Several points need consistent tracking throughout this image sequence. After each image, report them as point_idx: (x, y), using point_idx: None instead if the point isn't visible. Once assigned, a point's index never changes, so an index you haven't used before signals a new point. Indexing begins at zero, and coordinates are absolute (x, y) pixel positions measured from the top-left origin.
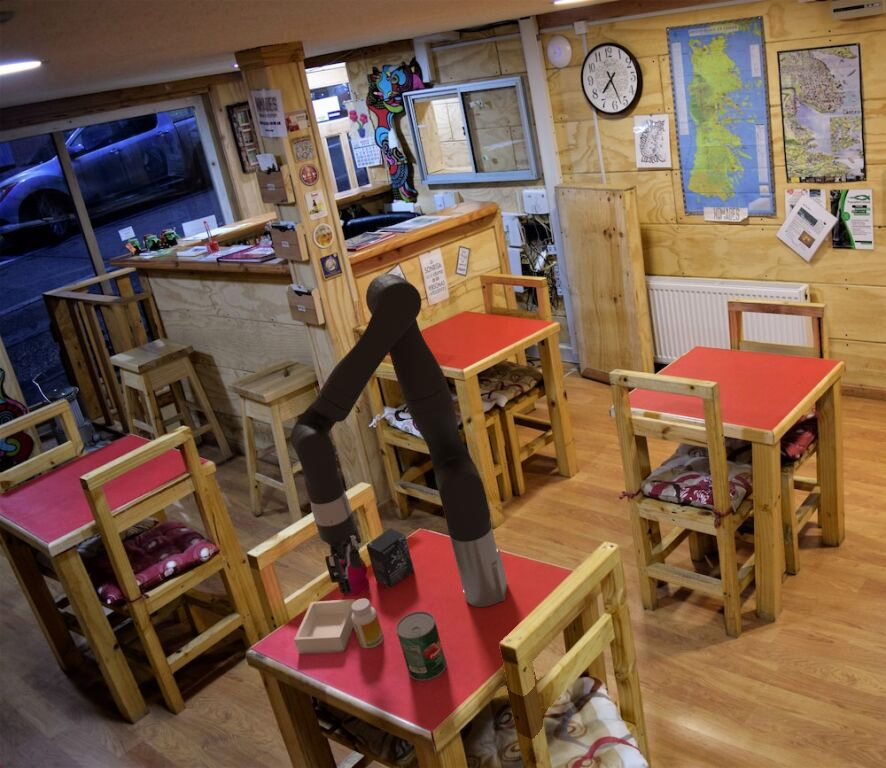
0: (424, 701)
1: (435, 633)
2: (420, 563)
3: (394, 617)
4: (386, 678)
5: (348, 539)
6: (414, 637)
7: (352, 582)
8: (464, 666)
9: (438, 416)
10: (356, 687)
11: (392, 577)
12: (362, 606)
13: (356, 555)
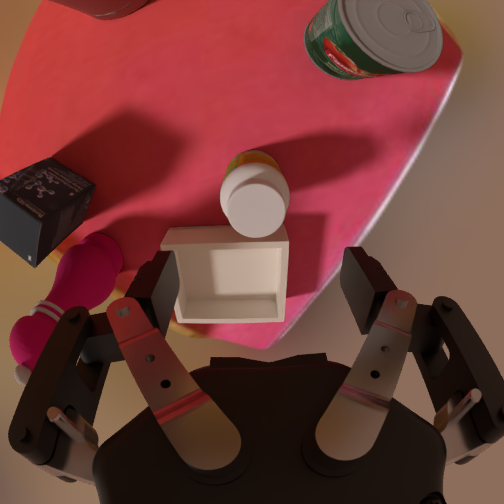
0: None
1: None
2: (35, 153)
3: (180, 144)
4: (367, 122)
5: (236, 467)
6: (440, 28)
7: (110, 264)
8: None
9: None
10: (380, 177)
11: (78, 186)
12: (268, 202)
13: (157, 298)
